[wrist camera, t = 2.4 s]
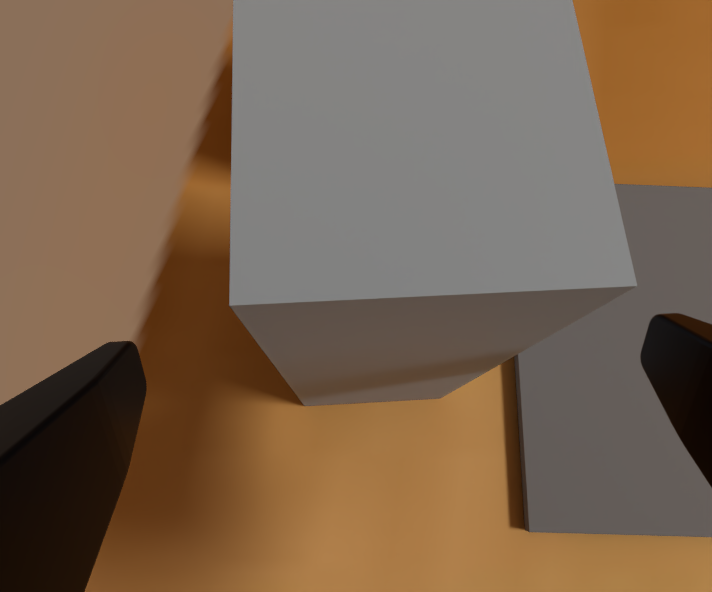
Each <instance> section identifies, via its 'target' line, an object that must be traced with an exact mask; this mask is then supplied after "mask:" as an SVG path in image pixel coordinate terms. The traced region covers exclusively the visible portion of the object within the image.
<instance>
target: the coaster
mask: <svg viewBox="0 0 712 592" xmlns="http://www.w3.org/2000/svg"><path fill="white" fill-rule="evenodd" d="M614 186H615V190H616V194H617V199H618V203H619V207H620V212H621V216H622V221H623V225H624V229H625V234H626V238H627V243H628V247H629V251H630V256H631V260H632V265H633V269H634V273H635V278H636V282H637V286H636V287H635V288H633V289H631V290H629V291H628V292H626V293H624V294H622V295H621V296H619V297H617V298H615V299H614V300H612V301H610V302H608V303H607V304H605V305H603V306H601V307H600V308H598V309H596V310H594V311H593V312H591V313H589V314H587V315H586V316H584V317H582V318H580V319H579V320H577V321H575V322H573V323H572V324H570V325H568V326H566V327H565V328H563V329H561V330H559V331H558V332H556V333H554V334H552V335H551V336H549V337H547V338H545V339H544V340H542V341H540V342H538V343H537V344H535V345H533V346H531V347H530V348H528V349H526V350H524V351H523V352H521V353H519V354H517V355H516V356H514V358H515V374H516V391H517V407H518V423H519V440H520V456H521V472H522V488H523V505H524V521H525V530H526V531H528V532H548V533H585V534H621V535H657V536H693V537H712V488H711V486H710V485H709V483H708V482H707V480H706V479H705V477H704V476H703V474H702V473H701V471H700V470H699V468H698V466H697V465H696V463H695V462H694V460H693V459H692V457H691V456H690V454H689V453H688V451H687V450H686V448H685V446H684V445H683V443H682V442H681V440H680V438H679V437H678V435H677V433H676V431H675V429H674V427H673V426H672V424H671V422H670V420H669V418H668V416H667V414H666V412H665V410H664V408H663V406H662V404H661V402H660V400H659V398H658V397H657V395H656V393H655V391H654V389H653V387H652V385H651V383H650V381H649V379H648V377H647V375H646V373H645V371H644V369H643V367H642V364H641V359H640V354H641V349H642V346H643V343H644V339H645V336H646V332H647V329H648V325H649V322H650V320H651V319H652V317H653V316H655V315H657V314H666V313H680V314H684V315H686V316H689V317H692V318H695V319H698V320H701V321H704V322H707V323H709V324H712V188H702V187H677V186H652V185H628V184H614Z"/></svg>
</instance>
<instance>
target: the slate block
mask: <svg viewBox="0 0 712 592" xmlns="http://www.w3.org/2000/svg"><path fill="white" fill-rule="evenodd" d="M636 286H637V282H636V278H635V273H634V269H633V265H632V260H631V256H630V251H629V247H628V243H627V238H626V234H625V229H624V225H623V221H622V216H621V212H620V207H619V203H618V199H617V194H616V190H615V186H614V181H613V177H612V172H611V168H610V164H609V159H608V155H607V150H606V146H605V142H604V137H603V133H602V128H601V124H600V120H599V115H598V111H597V106H596V102H595V98H594V93H593V89H592V85H591V80H590V76H589V71H588V67H587V63H586V58H585V54H584V49H583V45H582V41H581V36H580V32H579V27H578V23H577V19H576V14H575V10H574V5H573V1H572V0H233V65H232V141H231V216H230V291H229V306H230V307H231V309H232V310H233V311H234V313H235V314H236V315H237V317H238V318H239V319H240V321H241V322H242V323H243V325H244V326H245V327H246V329H247V330H248V331H249V333H250V334H251V335H252V337H253V338H254V339H255V341H256V342H257V343H258V345H259V346H260V347H261V349H262V350H263V351H264V353H265V354H266V355H267V357H268V358H269V359H270V361H271V362H272V363H273V365H274V366H275V367H276V369H277V370H278V371H279V373H280V374H281V375H282V377H283V378H284V379H285V381H286V382H287V383H288V385H289V386H290V387H291V389H292V390H293V391H294V393H295V394H296V395H297V397H298V398H299V399H300V401H301V402H302V403H303V405H304V406H316V405H334V404H351V403H369V402H386V401H404V400H422V399H439V398H442V397H444V396H445V395H447V394H449V393H451V392H452V391H454V390H456V389H458V388H459V387H461V386H463V385H465V384H466V383H468V382H470V381H472V380H473V379H475V378H477V377H479V376H480V375H482V374H484V373H486V372H487V371H489V370H491V369H493V368H495V367H496V366H498V365H500V364H502V363H503V362H505V361H507V360H509V359H510V358H512V357H514V356H516V355H517V354H519V353H521V352H523V351H524V350H526V349H528V348H530V347H531V346H533V345H535V344H537V343H538V342H540V341H542V340H544V339H545V338H547V337H549V336H551V335H552V334H554V333H556V332H558V331H559V330H561V329H563V328H565V327H566V326H568V325H570V324H572V323H573V322H575V321H577V320H579V319H580V318H582V317H584V316H586V315H587V314H589V313H591V312H593V311H594V310H596V309H598V308H600V307H601V306H603V305H605V304H607V303H608V302H610V301H612V300H614V299H615V298H617V297H619V296H621V295H622V294H624V293H626V292H628V291H629V290H631V289H633V288H635V287H636Z"/></svg>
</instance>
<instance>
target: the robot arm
mask: <svg viewBox="0 0 712 592" xmlns="http://www.w3.org/2000/svg"><path fill="white" fill-rule="evenodd" d="M640 359H641V364H642V367H643V369H644V371H645V373H646V375H647V377H648V379H649V381H650V383H651V385H652V387H653V389H654V391H655V393H656V395H657V397H658V398H659V400H660V402H661V404H662V406H663V408H664V410H665V412H666V414H667V416H668V418H669V420H670V422H671V424H672V426H673V427H674V429H675V431H676V433H677V435H678V437H679V438H680V440H681V442H682V443H683V445H684V446H685V448H686V450H687V451H688V453H689V454H690V456H691V457H692V459H693V460H694V462H695V463H696V465H697V466H698V468H699V470H700V471H701V473H702V474H703V476H704V477H705V479H706V480H707V482H708V483H709V485H710V486H711V488H712V324H709V323H707V322H704V321H701V320H698V319H695V318H692V317H689V316H686V315H684V314H680V313H666V314H657V315H655V316H653V317H652V319H651V320H650V322H649V325H648V329H647V332H646V336H645V339H644V343H643V346H642V349H641V354H640ZM145 396H146V379H145V375H144V371H143V368H142V364H141V360H140V356H139V353H138V349H137V347H136V345H135V344H134V343H133V342H131V341H122V342H109V343H106V344H104V345H102V346H101V347H99V348H98V349H96V350H94V351H92V352H91V353H89V354H87V355H86V356H84V357H82V358H81V359H79V360H77V361H75V362H74V363H72V364H70V365H69V366H67V367H65V368H63V369H62V370H60V371H58V372H57V373H55V374H53V375H51V376H50V377H48V378H46V379H45V380H43V381H41V382H39V383H38V384H36V385H34V386H33V387H31V388H29V389H28V390H26V391H24V392H23V393H21V394H19V395H17V396H16V397H14V398H12V399H11V400H9V401H7V402H5V403H4V404H2V405H0V592H84V591H85V588H86V586H87V583H88V580H89V578H90V575H91V572H92V569H93V567H94V564H95V561H96V558H97V556H98V553H99V550H100V547H101V545H102V542H103V539H104V536H105V534H106V531H107V528H108V525H109V523H110V520H111V517H112V514H113V512H114V509H115V506H116V503H117V501H118V498H119V495H120V492H121V490H122V487H123V484H124V481H125V478H126V475H127V472H128V468H129V464H130V460H131V456H132V452H133V448H134V443H135V439H136V435H137V431H138V426H139V422H140V418H141V413H142V409H143V405H144V401H145Z"/></svg>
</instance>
